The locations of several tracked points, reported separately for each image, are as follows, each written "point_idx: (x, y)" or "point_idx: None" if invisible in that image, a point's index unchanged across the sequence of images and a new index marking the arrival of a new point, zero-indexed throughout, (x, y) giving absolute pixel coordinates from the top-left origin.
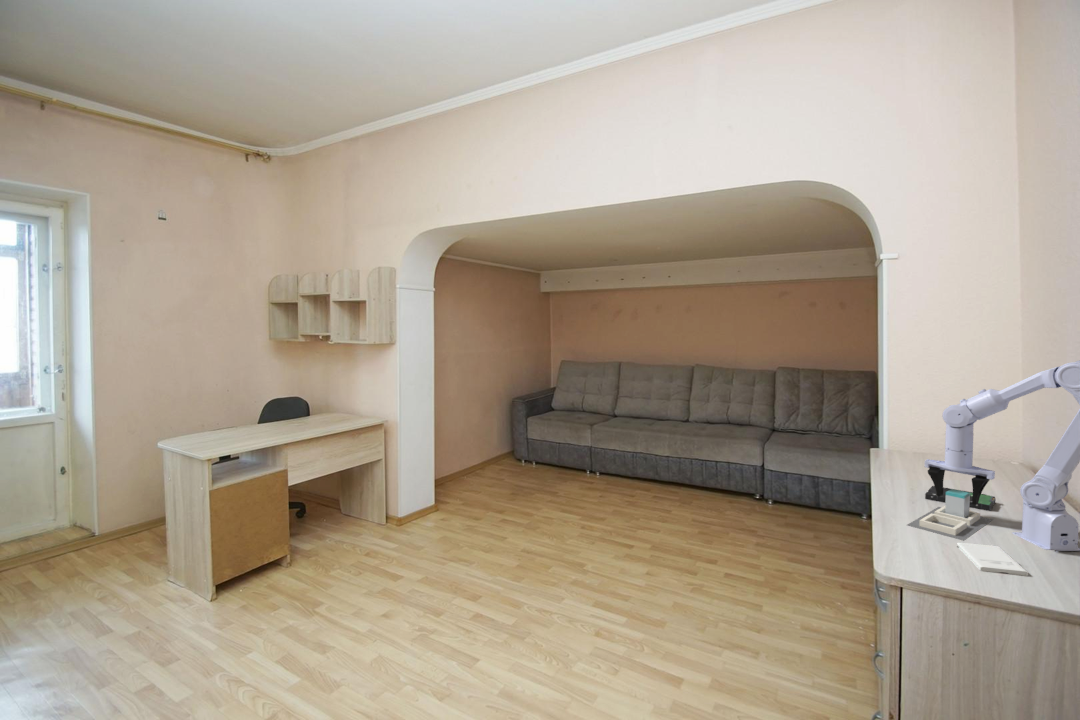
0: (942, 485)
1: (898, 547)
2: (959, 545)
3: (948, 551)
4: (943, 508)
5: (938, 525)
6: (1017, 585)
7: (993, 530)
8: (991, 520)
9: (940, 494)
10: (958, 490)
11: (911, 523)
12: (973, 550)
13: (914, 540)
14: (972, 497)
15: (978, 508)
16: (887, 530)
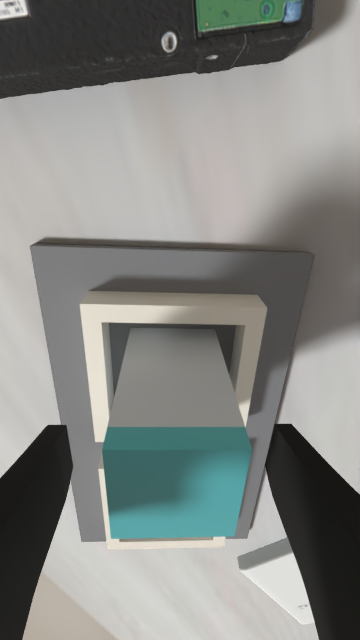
0: (31, 502)
1: (140, 623)
2: (248, 577)
3: (228, 586)
4: (100, 372)
5: (170, 546)
6: None
7: (313, 378)
8: (306, 281)
9: (68, 470)
10: (162, 453)
11: (83, 523)
12: (281, 585)
13: (146, 584)
14: (282, 521)
15: (217, 67)
16: (66, 577)
